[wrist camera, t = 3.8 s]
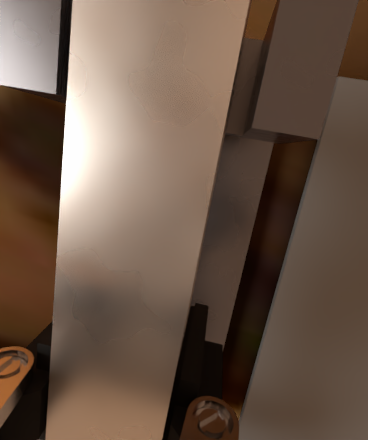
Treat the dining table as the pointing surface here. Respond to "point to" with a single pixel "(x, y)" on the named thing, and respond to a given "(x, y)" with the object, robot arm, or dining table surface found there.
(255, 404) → the mat
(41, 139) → the dining table surface
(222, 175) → the rack
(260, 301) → the dining table surface
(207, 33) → the rail
